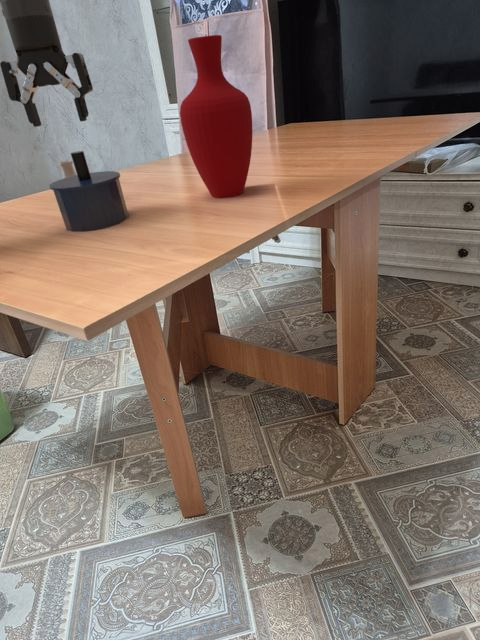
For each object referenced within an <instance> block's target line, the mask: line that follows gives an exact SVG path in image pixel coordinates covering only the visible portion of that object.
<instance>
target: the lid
mask: <svg viewBox="0 0 480 640" xmlns="http://www.w3.org/2000/svg"><path fill="white" fill-rule="evenodd" d="M70 157H71V161H72V162H73V163H72V164H73V167H74V171H75V173H76V176H71V177H68V178H64V179H63V178H61V179H58V180H56V181H52V183H50V184H49V185H48V186H49V187H48V188H49V189H50V190H51V191H53V190H55V191H68V190H78V189H84V188H90V187H95V186H99V185H103V184H106V183H109V182H112V181H115V180H117V179H118V178H119V179H120V178H121V173H120V172H119V171H113V170H108V171H107V170H106V171H105V170H104V171H93V172H90V168H89V164H88V162H87V158H86V155H85V152H84V150H78V151H77V150H76V151H72V152H70Z"/></svg>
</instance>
